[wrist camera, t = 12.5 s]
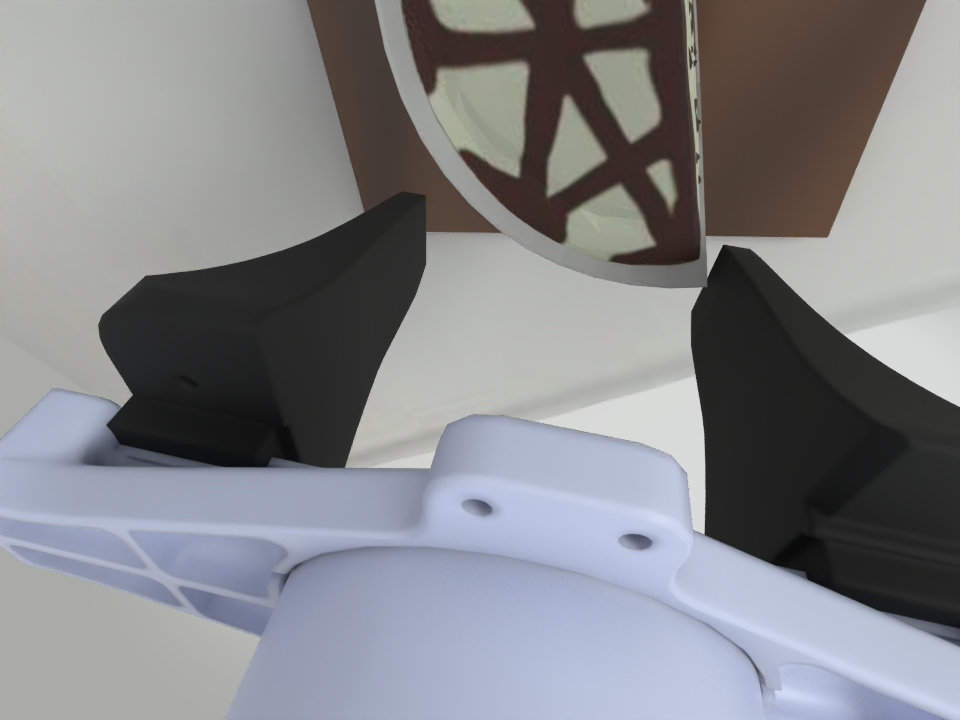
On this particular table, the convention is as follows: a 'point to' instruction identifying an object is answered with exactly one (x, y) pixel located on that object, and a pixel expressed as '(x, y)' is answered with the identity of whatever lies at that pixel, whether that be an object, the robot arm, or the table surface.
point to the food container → (565, 125)
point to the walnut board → (724, 109)
